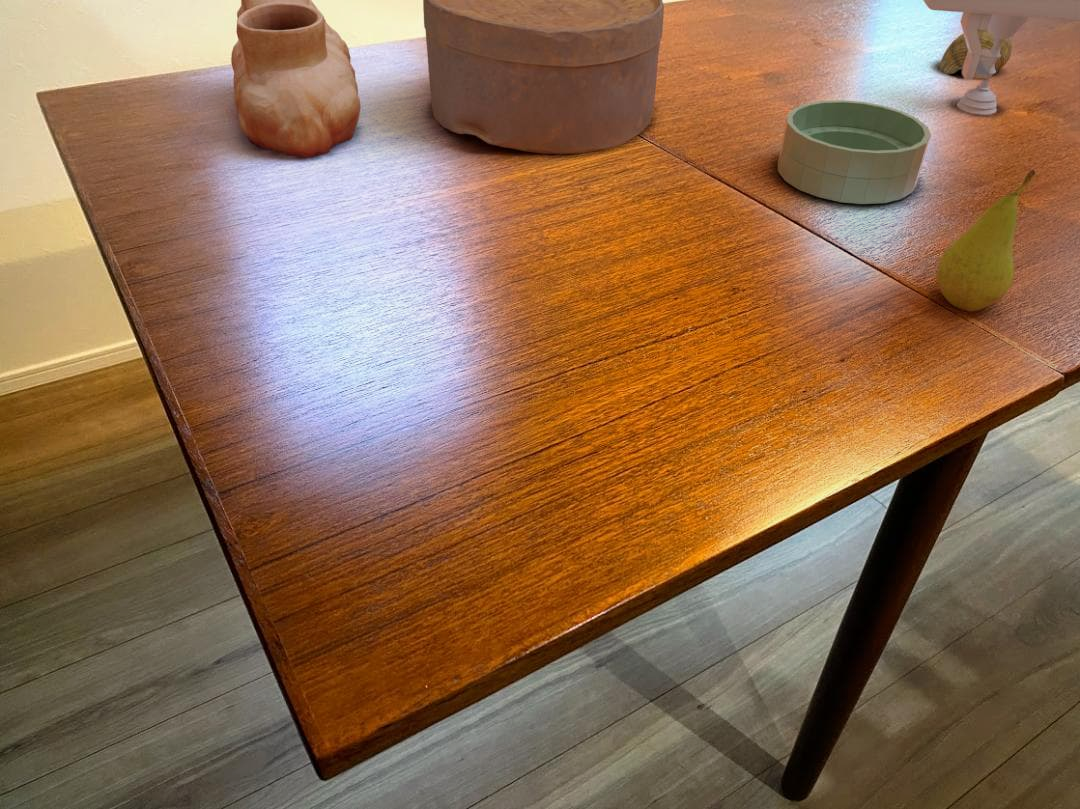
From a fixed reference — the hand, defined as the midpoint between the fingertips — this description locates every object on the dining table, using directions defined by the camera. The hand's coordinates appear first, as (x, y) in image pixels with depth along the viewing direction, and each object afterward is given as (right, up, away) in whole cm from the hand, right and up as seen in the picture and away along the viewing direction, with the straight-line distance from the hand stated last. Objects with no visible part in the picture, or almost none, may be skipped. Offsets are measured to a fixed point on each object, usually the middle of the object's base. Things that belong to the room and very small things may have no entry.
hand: (1042, 83), depth 63 cm
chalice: (+19, +14, +48) cm, 53 cm away
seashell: (+24, +23, +59) cm, 68 cm away
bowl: (-3, +1, +31) cm, 31 cm away
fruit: (0, -15, +12) cm, 19 cm away
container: (-36, +12, +45) cm, 58 cm away
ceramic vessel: (-65, +11, +42) cm, 78 cm away
